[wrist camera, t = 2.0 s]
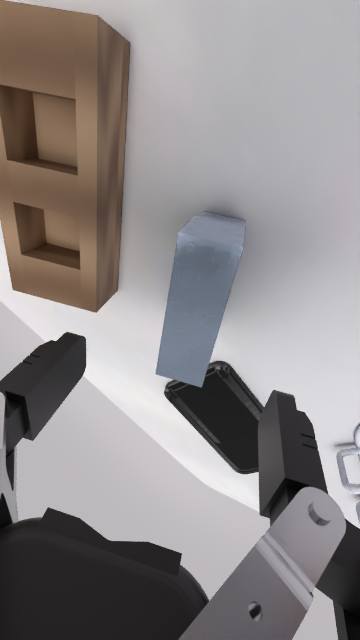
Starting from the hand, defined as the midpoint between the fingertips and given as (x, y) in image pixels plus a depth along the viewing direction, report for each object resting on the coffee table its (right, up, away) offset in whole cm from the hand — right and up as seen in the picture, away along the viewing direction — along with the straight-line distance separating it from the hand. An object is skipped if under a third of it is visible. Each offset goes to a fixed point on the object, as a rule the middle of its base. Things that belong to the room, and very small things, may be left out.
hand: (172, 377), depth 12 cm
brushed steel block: (+3, +6, +10) cm, 12 cm away
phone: (+6, -8, +19) cm, 21 cm away
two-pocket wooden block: (-7, +12, +9) cm, 17 cm away
